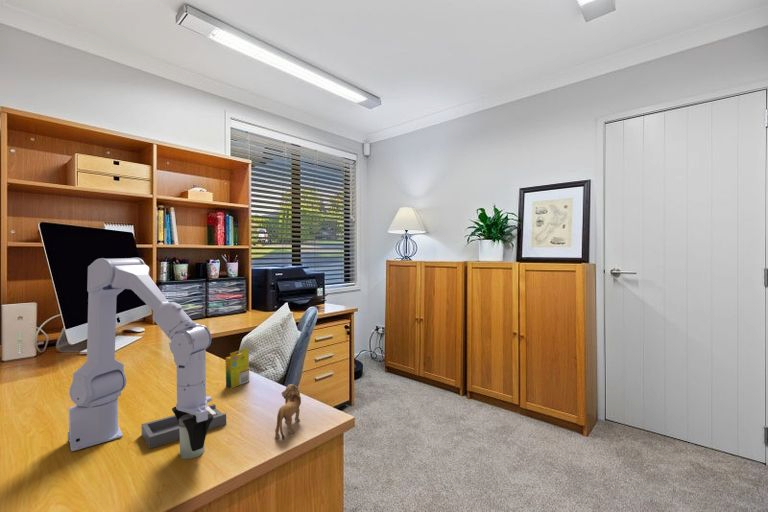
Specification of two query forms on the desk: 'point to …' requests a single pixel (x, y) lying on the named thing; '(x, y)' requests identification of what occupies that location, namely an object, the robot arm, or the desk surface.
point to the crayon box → (237, 368)
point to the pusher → (210, 411)
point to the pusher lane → (173, 428)
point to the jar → (187, 441)
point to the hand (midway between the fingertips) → (192, 442)
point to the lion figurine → (288, 409)
